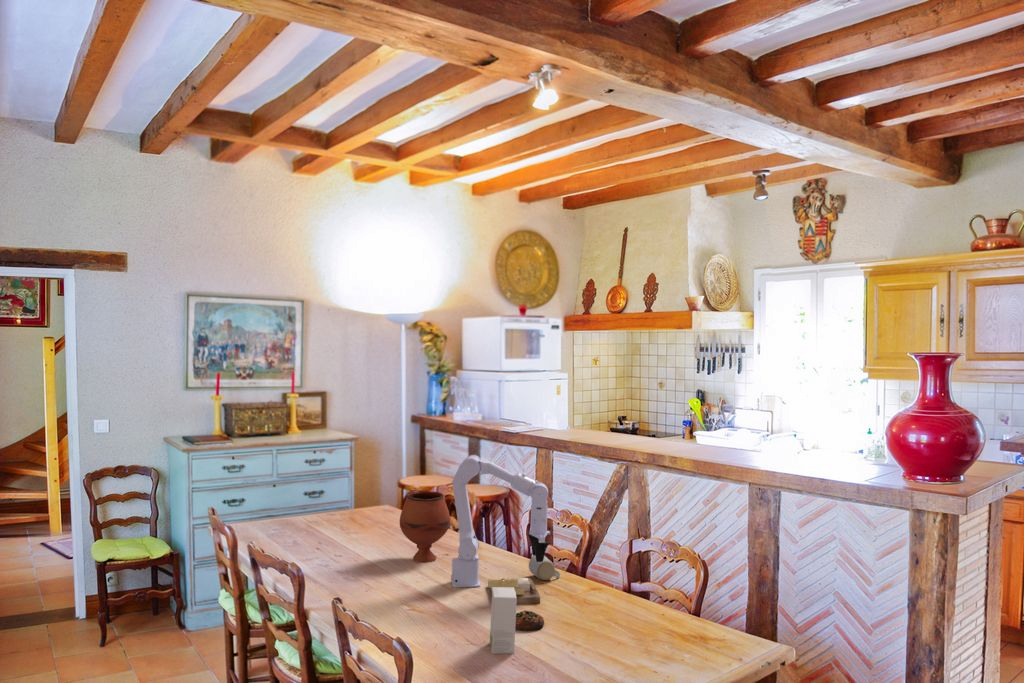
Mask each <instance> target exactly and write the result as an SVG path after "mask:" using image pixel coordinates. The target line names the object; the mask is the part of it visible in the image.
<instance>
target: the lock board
mask: <svg viewBox="0 0 1024 683" xmlns="http://www.w3.org/2000/svg"><path fill="white" fill-rule="evenodd" d="M527 578H528V580H529V582H530V591H524V595H516V598H517V604H519V605H520V604H521V605H524V604H527V605H529V604H530V605H531V604H541V596H540V593H539V591H538V589H537V587H536V585H535V583H534V581H533V579H531V578H530V577H527ZM488 589H489V592H490V596H491V597H492V587H488ZM517 604H516V605H517Z"/></svg>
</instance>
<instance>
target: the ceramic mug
mask: <svg viewBox="0 0 1024 683" xmlns="http://www.w3.org/2000/svg"><path fill="white" fill-rule="evenodd" d="M528 570H529V572H530V573H531V574H532V575H534V576H535V577H536V578H537V579H539V580H541V581H549V580H550V579H552V578H553V577H555V578H560V575H561V572H559V571H558V570H556V569H555V565H554V563H553V562H552V561H551V560H550V559H549V558H548V557H547V556H546V555H544V559H543V562H537V561H536V556H533V555H532V556H531V558H530V559H529V562H528Z"/></svg>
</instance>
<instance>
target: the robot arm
mask: <svg viewBox="0 0 1024 683" xmlns="http://www.w3.org/2000/svg"><path fill="white" fill-rule="evenodd" d="M478 474H480V475H482V476H483V475H492V476H494V477H496V478H498V479H501V480H503V481H505V482H507V483H509V484H510V486H511V489H513V490H515V491H517V492H519V493H520V494H523V495H524V496H525V495H526V496H527V497H531V505H530V524H529V525H530V527H529V528H530V530H529V534H527V536H528V538H529V541H530V546H531V552H532V557H533V556H536V561H537V562H543V559H544V556H546V555H545V554H546V551H547V549H548V547H549V544H550V542H549V541H546V537H547V536H548V535H551V531H550V530H548V498H549V489H548V487H547V485H546V484H544V483H543V482H541V481H540V482H539V481H538V480H537V479H535V480H534V479H533V478H530V477H528V476H527V475H526V473H524V472H522V473H516V474H514V473H512V472H510V471H508V470H506V469H505V468H503V467H502V466H500V465H498V464H496V463H495V462H493V461H491V460H489V459H486V458H484V457H480V456H479V455H477V454H470V455H468V456H467V457H466V458H465V459H464V460H463V461H462V462H461V463H460V465H459V466H458V468H457V470H456V472H455V475H454V477H453V479H452V482H451V483H452V490H453V495H454V496H453V497H454V504H455V511H456V516H457V524H458V529H459V537H458V538H459V540H458V541H459V547H458V550H457V552H458V557H454V558H452V562H451V574H450V580H451V585H452V586H451V587H453V588H469V587H470V588H476V587H477V588H480V587H481V583H480V578H479V574H480V573H479V571H480V570H479V568H480V555H478V552H477V551H478V550H479V549H480V542H479V540H478V538H477V536H476V533H475V530H474V526H473V520H472V519H473V518H472V513H471V505H470V499H469V492H468V491H469V490H468V485H467V484H468V482H470V480H471V479H472V478H474V477H476V476H477V475H478Z"/></svg>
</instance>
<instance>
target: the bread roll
mask: <svg viewBox="0 0 1024 683" xmlns="http://www.w3.org/2000/svg"><path fill="white" fill-rule="evenodd" d="M544 626H545V620H544V617H543V616H542V615H540V614H538V613H537V612H534V611H532V610H522V611H519V612H516V624H515V630H518V631H522V632H524V631H525V632H533V631H535V632H536V631H540V630H542V628H543V627H544Z"/></svg>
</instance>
